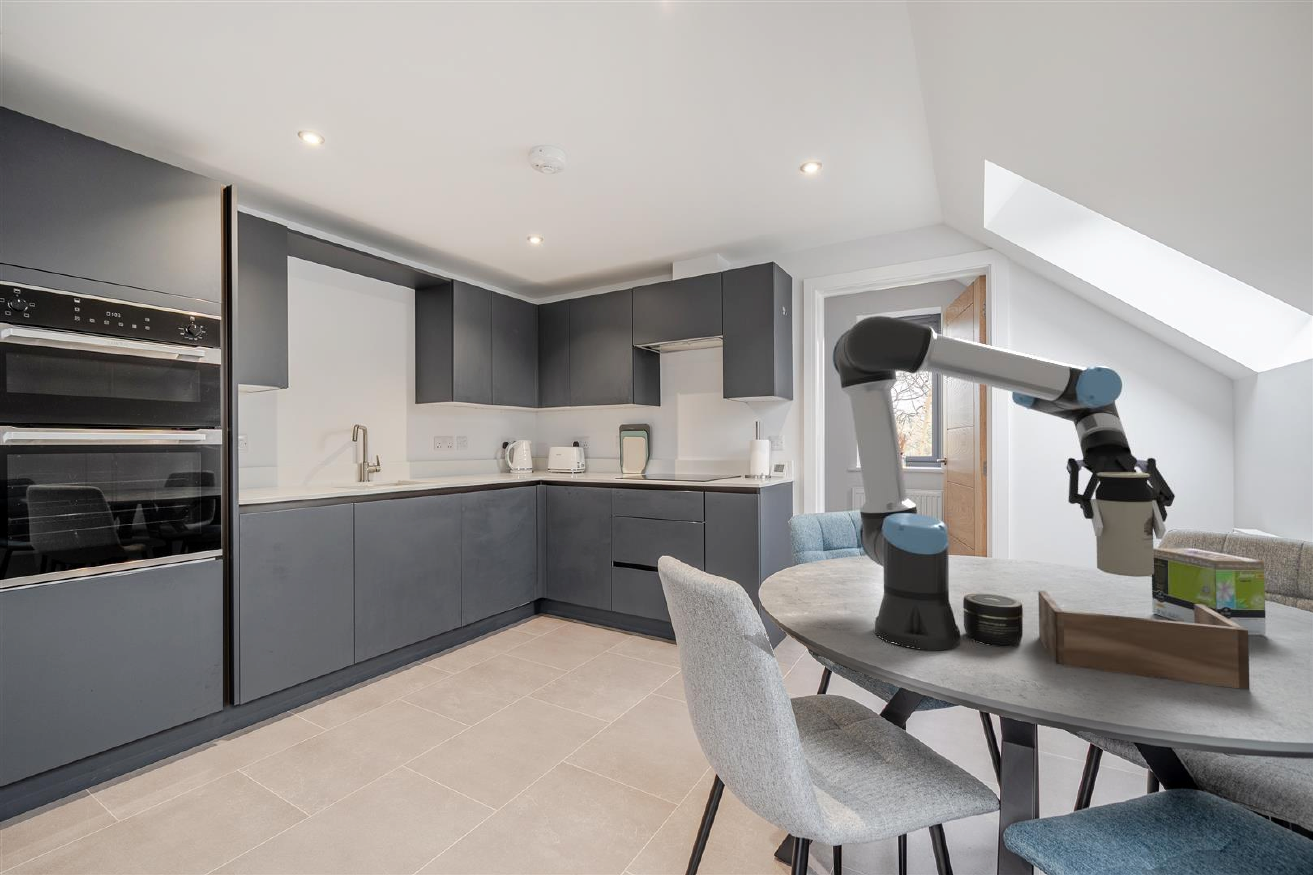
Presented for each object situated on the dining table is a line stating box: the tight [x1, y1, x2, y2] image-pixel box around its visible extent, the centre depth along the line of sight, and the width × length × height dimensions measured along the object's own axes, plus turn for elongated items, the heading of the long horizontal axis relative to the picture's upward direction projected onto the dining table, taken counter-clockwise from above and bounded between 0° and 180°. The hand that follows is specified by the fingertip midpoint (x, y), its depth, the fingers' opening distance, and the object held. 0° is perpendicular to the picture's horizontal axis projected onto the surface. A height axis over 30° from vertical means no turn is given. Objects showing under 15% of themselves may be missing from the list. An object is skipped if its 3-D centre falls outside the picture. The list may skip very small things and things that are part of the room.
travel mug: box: [1094, 472, 1154, 578], centre depth 102 cm, size 8×8×18 cm
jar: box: [962, 593, 1024, 647], centre depth 109 cm, size 10×10×8 cm
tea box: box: [1151, 547, 1267, 636], centre depth 117 cm, size 15×10×15 cm
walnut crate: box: [1037, 590, 1251, 691], centre depth 98 cm, size 15×24×9 cm, turn 65°
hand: (1129, 532), depth 99 cm, fingers closed on travel mug, 8 cm apart
